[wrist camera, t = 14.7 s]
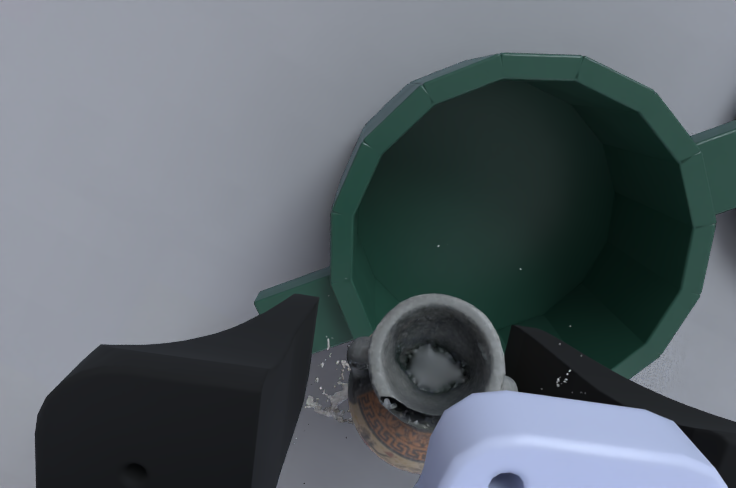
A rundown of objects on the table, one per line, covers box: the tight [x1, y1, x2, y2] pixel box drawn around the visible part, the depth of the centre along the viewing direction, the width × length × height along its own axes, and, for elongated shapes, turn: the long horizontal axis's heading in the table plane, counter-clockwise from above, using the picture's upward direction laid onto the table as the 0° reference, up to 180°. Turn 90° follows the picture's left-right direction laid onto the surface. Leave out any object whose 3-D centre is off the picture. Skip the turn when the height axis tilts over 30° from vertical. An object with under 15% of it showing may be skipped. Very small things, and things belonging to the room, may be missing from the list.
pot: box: [254, 53, 736, 379], centre depth 19 cm, size 11×17×6 cm
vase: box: [293, 245, 586, 484], centre depth 12 cm, size 5×5×6 cm
